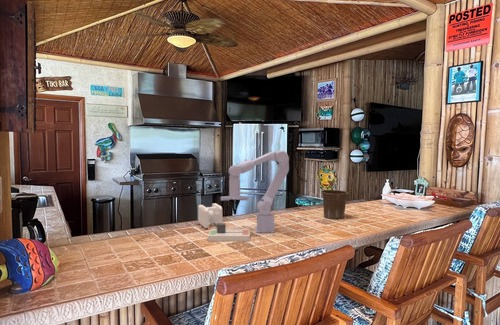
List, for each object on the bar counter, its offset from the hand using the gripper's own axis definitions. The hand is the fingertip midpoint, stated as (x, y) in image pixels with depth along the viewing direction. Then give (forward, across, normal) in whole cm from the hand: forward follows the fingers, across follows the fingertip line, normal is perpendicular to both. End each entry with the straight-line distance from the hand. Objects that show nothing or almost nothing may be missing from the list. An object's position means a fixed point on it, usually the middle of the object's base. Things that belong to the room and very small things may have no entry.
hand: (234, 214), depth 165 cm
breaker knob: (+6, -6, -10) cm, 13 cm away
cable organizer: (+10, -15, +12) cm, 22 cm away
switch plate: (+9, -2, -10) cm, 14 cm away
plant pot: (+10, +60, +33) cm, 69 cm away
